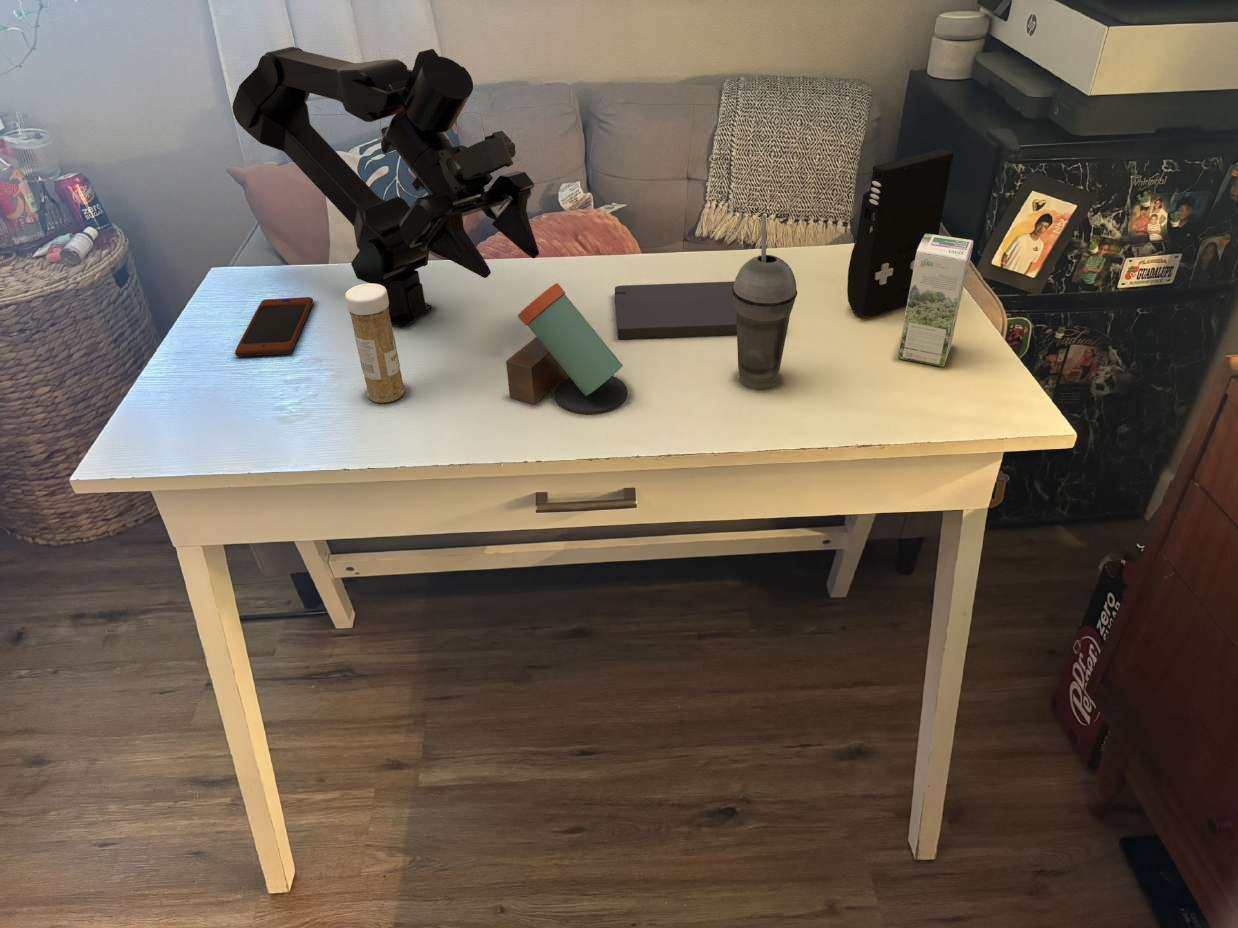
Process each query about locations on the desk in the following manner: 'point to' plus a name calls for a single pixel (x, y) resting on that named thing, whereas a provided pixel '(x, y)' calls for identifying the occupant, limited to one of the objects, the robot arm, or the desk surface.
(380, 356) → the sprinkles bottle
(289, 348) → the smartphone
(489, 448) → the desk surface
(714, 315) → the notebook
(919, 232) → the handheld gaming console
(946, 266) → the syrup box
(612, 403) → the coaster
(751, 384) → the beverage cup
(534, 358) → the block
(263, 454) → the desk surface
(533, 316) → the container
